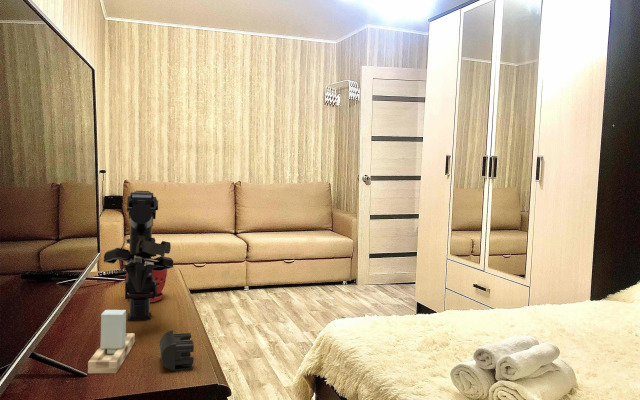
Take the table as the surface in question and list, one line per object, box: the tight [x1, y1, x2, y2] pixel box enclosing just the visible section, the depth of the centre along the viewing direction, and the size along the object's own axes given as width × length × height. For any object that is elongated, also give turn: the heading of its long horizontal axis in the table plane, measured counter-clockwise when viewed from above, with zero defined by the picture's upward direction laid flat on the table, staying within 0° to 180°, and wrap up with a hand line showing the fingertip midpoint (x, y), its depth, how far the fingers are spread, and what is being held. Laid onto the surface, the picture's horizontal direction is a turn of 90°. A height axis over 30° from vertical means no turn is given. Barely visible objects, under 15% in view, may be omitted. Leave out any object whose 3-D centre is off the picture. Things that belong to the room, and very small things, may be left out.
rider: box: [100, 309, 127, 354], centre depth 127 cm, size 4×5×10 cm
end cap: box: [159, 329, 195, 373], centre depth 125 cm, size 10×7×7 cm
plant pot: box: [125, 269, 168, 303], centre depth 180 cm, size 13×13×12 cm
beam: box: [87, 332, 136, 374], centre depth 127 cm, size 20×6×3 cm, turn 8°
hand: (139, 291), depth 141 cm, fingers closed
